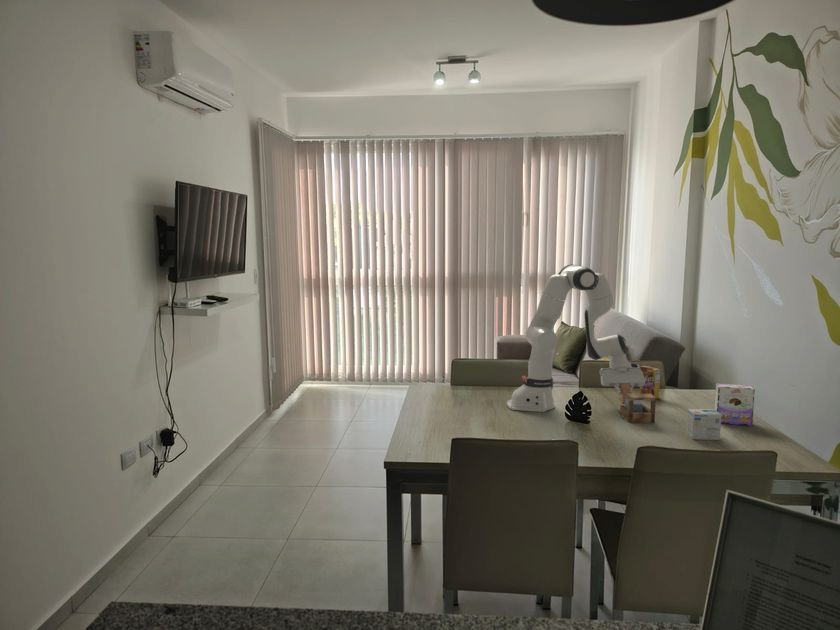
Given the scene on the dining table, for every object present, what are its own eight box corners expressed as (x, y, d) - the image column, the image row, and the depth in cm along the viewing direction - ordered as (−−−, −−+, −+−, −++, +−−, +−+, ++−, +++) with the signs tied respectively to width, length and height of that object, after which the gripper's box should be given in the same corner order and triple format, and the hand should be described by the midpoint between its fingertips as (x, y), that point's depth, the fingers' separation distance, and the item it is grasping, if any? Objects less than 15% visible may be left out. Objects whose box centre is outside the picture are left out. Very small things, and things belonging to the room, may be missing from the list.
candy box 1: (638, 395, 275) (640, 365, 273) (644, 394, 277) (646, 365, 275) (653, 399, 268) (655, 369, 266) (659, 398, 270) (661, 368, 268)
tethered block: (628, 416, 242) (630, 398, 239) (616, 401, 258) (618, 383, 256) (642, 416, 242) (643, 398, 239) (629, 401, 258) (631, 383, 255)
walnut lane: (628, 422, 234) (629, 397, 232) (619, 413, 246) (620, 389, 244) (654, 422, 233) (655, 397, 232) (644, 413, 245) (645, 390, 244)
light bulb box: (713, 434, 219) (714, 408, 217) (720, 440, 212) (722, 414, 211) (685, 433, 220) (687, 408, 218) (692, 439, 213) (693, 413, 212)
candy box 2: (749, 422, 233) (751, 385, 231) (752, 426, 228) (755, 388, 226) (713, 418, 238) (715, 382, 236) (715, 423, 232) (718, 386, 230)
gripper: (599, 364, 261) (605, 389, 252) (642, 364, 260) (649, 390, 251) (596, 371, 266) (601, 396, 257) (639, 371, 265) (645, 396, 256)
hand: (625, 393), depth 254 cm, fingers closed on tethered block, 3 cm apart
